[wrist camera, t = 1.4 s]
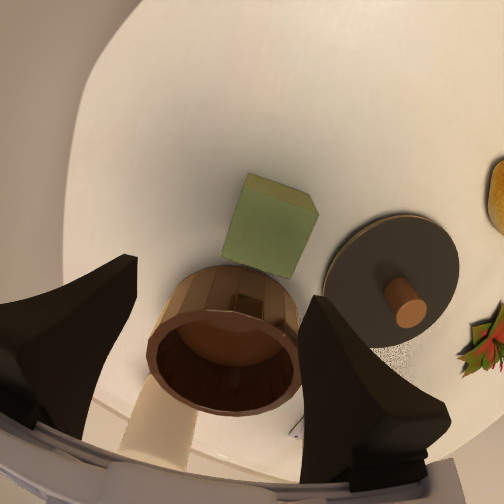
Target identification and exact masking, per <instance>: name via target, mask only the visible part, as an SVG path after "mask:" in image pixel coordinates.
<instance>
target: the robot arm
mask: <svg viewBox="0 0 504 504" xmlns="http://www.w3.org/2000/svg"><path fill="white" fill-rule="evenodd" d="M137 264H138V257H136V256H131V255H127V254H123V255H121V256H119V257H117V258H115V259H113V260H111V261H110V262H108V263H106V264H104V265H103V266H101V267H99V268H97V269H95V270H94V271H92V272H90V273H88V274H86V275H84V276H82V277H80V278H78V279H76V280H74V281H72V282H71V283H68V284H66V285H64V286H62V287H59V288H57V289H54V290H52V291H49V292H46V293H43V294H40V295H37V296H34V297H31V298H28V299H23V300H19V301H15V302H10V303H4V304H0V474H2V475H3V476H5V477H6V478H8V479H9V480H11V481H12V482H14V483H15V484H17V485H18V486H20V487H22V488H23V489H25V490H27V491H28V492H30V493H32V494H34V495H35V496H37V497H39V498H41V499H43V500H44V501H46V504H466V502H465V498H464V495H463V490H462V487H461V483H460V480H459V476H458V473H457V470H456V466H455V463H454V460H453V458H448V459H444V460H441V461H436V462H433V463H430V464H428V465H425V462H424V459H426V458H427V457H428V453H427V448H428V447H429V446H430V445H432V444H433V443H434V442H435V441H437V440H438V439H439V438H440V437H441V436H442V435H443V434H444V433H445V432H446V431H447V430H448V429H449V427H450V425H451V418H450V416H449V413H448V411H447V408H446V406H445V403H444V402H442V401H440V400H438V399H436V398H434V397H432V396H431V395H429V394H427V393H425V392H423V391H422V390H420V389H419V388H417V387H415V386H414V385H412V384H411V383H409V382H408V381H407V380H405V379H404V378H402V377H401V376H400V375H399V374H397V373H396V372H395V371H394V370H392V369H391V368H390V367H389V366H388V365H386V364H385V363H384V362H383V361H382V360H381V359H380V358H379V357H378V356H377V355H376V354H375V353H374V352H373V351H372V350H371V349H370V348H369V347H368V346H367V345H366V344H365V343H364V342H363V340H362V339H361V338H360V337H359V336H358V335H357V334H356V332H355V331H354V330H353V329H352V328H351V326H350V325H349V324H348V323H347V321H346V320H345V319H344V317H343V316H342V315H341V314H340V312H339V311H338V310H337V309H336V307H335V306H334V305H333V303H332V302H331V301H330V300H329V299H328V298H327V297H322V296H317V295H313V297H312V300H311V302H310V304H309V307H308V309H307V311H306V314H305V316H304V318H303V321H302V323H301V325H300V328H299V330H298V359H299V367H300V374H301V381H302V389H303V397H304V418H303V419H302V420H301V421H300V422H299V423H298V424H297V425H296V426H295V428H294V429H293V430H292V431H291V432H290V433H289V437H291V438H298V439H302V448H303V455H302V467H301V475H300V483H299V484H282V483H263V482H250V481H240V480H231V479H224V478H216V477H210V476H203V475H198V474H193V473H187V472H183V471H178V470H173V469H169V468H165V467H161V466H157V465H153V464H149V463H145V462H142V461H138V460H135V459H131V458H128V457H125V456H122V455H119V454H116V453H113V452H110V451H107V450H104V449H101V448H98V447H96V446H93V445H90V444H88V443H85V442H83V441H81V440H82V436H83V431H84V426H85V422H86V418H87V414H88V410H89V406H90V403H91V400H92V397H93V393H94V390H95V387H96V384H97V381H98V379H99V376H100V373H101V370H102V368H103V365H104V363H105V361H106V359H107V356H108V355H109V353H110V351H111V349H112V347H113V345H114V343H115V342H116V340H117V338H118V336H119V334H120V333H121V331H122V329H123V327H124V325H125V323H126V322H127V320H128V318H129V316H130V313H131V311H132V309H133V306H134V304H135V301H136V298H137Z"/></svg>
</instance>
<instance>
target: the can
mask: <svg viewBox="0 0 504 504" xmlns="http://www.w3.org/2000/svg"><path fill="white" fill-rule="evenodd" d="M198 411H199V410H196V409H194V408H192V407H189V406H187V405H185V404H183V403H181V402H180V401H178V400H176V399H175V398H173V397H172V396H171V395H170V394H168V393H167V392H166V391H165V390H164V389H162V387H161V386H160V385H159V384H158V382H157V381H156V379H155V378H154V377H153V375H152V374H149V375H148V377H147V378H146V380H145V383H144V385H143V387H142V390H141V392H140V395H139V397H138V400H137V402H136V405H135V407H134V410H133V412H132V415H131V418H130V420H129V423H128V426H127V428H126V431H125V433H124V436H123V439H122V442H121V445H120V447H119V451H118V454H119V455H122V456H125V457H128V458H131V459H135V460H138V461H142V462H145V463H149V464H153V465H157V466H161V467H165V468H169V469H173V470H178V471H183V472H185V471H186V467H187V462H188V457H189V453H190V448H191V444H192V439H193V434H194V430H195V425H196V420H197V416H198Z"/></svg>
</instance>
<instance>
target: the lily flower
mask: <svg viewBox="0 0 504 504" xmlns="http://www.w3.org/2000/svg"><path fill="white" fill-rule="evenodd" d="M472 329H473V330H472V331H473V344H474V346H475V347H476V348H475V349H474V350H472V351H470V352H468V353H466V354H465V355H463V356H461V357H459V358H457V359H460V360H462V361H466V362H467V363H469V365H468V367H467V369H466V371H465V373H464V375H463V377H464V376H467V375H469V374H470V373H471V374H472V373H474V372H476V371H477V370H478V369H480V368H481V367H482V366H483V369H484V370H486V371H488V369H490V368H491V367H492V366H493V367H492V368H493V369H494V367H495V364H496V363H497V362H498V361H499V360H500V367H501V370H500V372H501V371H502V367H503V366H502V364H503V362H502V358H503V360H504V304H502V307H501V309H500V312H499V315H498V317H497V319H496V322H495V323H488V324H483V325H479V326H477V327H476V326H474V327H472ZM463 377H462V378H463ZM462 378H461V379H462Z"/></svg>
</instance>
